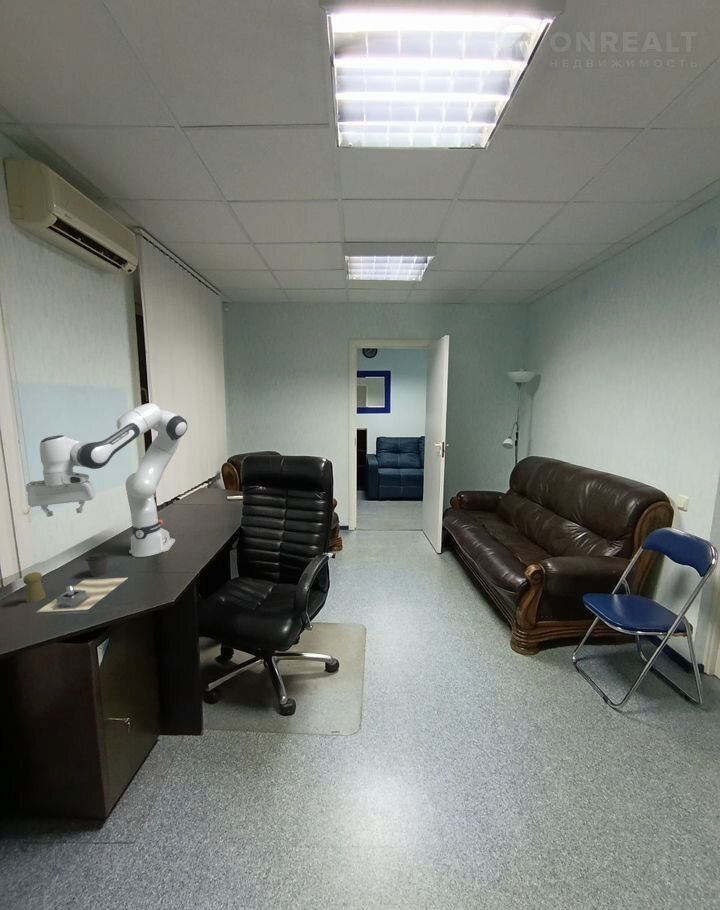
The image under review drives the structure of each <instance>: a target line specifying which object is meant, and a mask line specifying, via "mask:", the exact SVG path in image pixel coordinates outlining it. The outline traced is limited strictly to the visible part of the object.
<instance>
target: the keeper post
mask: <svg viewBox="0 0 720 910" xmlns="http://www.w3.org/2000/svg"><path fill="white" fill-rule="evenodd" d="M65 588H66V589H65V590H66V592H67V595H68V597H72V596H74V595H75V593H74V585H73V584H71V585H68V586H66V587H65ZM86 597H87V598H86V599H85V600H83V601H81V602H79V603H78V604H76V605H74V606H73V607H64V606H56V607H54V608H53V610H60V609H76V608H77V607H79V606H80V605H81V604H83V603H84V602H85V601H87V600H88V599H89V598H90V597H91V596H86Z"/></svg>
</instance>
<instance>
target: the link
mask: <svg viewBox="0 0 720 910" xmlns="http://www.w3.org/2000/svg"><path fill="white" fill-rule="evenodd" d="M64 593H65V592H64ZM64 593H62V594H63V595H62V594H61V595H59V596H57V597H56V598H55V599H56V600H57V606H64V607H73V606H74V605H76V604H78V603H79V602H81V601H83V600H85V599H86V598H87V597H86V591H83V590H74V593H75V595H74V596H72V597H68V595H67V593H65V594H64Z"/></svg>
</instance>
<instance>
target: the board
mask: <svg viewBox="0 0 720 910" xmlns="http://www.w3.org/2000/svg"><path fill="white" fill-rule="evenodd" d="M126 580H128V577H115V578H114V577H113V578H112V577H111V578H97V579H95V578H94V579H93V578H92V579H91V578H90V579H83V580H81V581H80V582H78V583H77V584H76V585H73V587H74V590H83V591H86V596H91V597H90V598H89V599H88V600H87V601H85V602H84V603H83V604H81V605H80V606H79V607H77V608H76V609H60V610H53V608H54V607H56V606H57V600H56V598H55V599H53V600H52V601H51V602H49V603H47V604H46V605H44V606H43V607H41V608H39V609H38V610H37V611H36V613H35V616H48V615H49V616H51V615H52V616H53V615H66V614H69V615H71V614H86V613H87V614H88V613H90V612H91V610H89V609H91V608H92V607H94V606H95V605H96V604H97V603H99V601H101V600H102V599H104V598H105V597H106V596H108V595H109V593H111V592H112V591H114V590H115V589H116V588H117V587H119V586H120V585H121V584H122V583H124V582H125V581H126ZM65 593H67V591H65V592H64V593H62V594H61V595H63V594H65Z"/></svg>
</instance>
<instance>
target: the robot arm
mask: <svg viewBox="0 0 720 910" xmlns="http://www.w3.org/2000/svg"><path fill="white" fill-rule="evenodd" d="M116 428H117V430H116V431H115V432H114V433H111V434H110V435H109V436H107V437H105V438H104V439H103V440H100V441H94V442H88V441H87V442H83V441H80V440H75V439H72V438H69V437H68V436H66V435H63V434H58V435H53V436H47V437H45V438H43V439H42V440H41V441H40V444H39V456H40V457H39V458H40V462H41V464H42V466H43V469H42V475H43V480H37V481H36V480H35V481H33V480H32V481H29V482H28V483H27V484H26V486H25V489H26V492H27V505H28V506H30V507H31V508H34V507H41V510H42V511H43V512H44V513H45V514H46V518H49V517H53V516H54V511H53V510H49V508H48V507H49V506H50V505H58V504H70V503H77V502H78V504H79V507H77V508H76V509H75V511H76V514H82V513H83V511H84V510H83V507H84V506H85V503H86V501H92V500H94V498H95V496H96V494H95V490H94V486H93V484H92V482H91V481H90V476H89V474H87V473H80V472H74V467H82V468H87V469H91V470H97V469H101V468H103V467H105V466H106V465H107V464H108V463H109V462H110V461H111V459H112V457H113V456H114V455H115V454H117V452H119V451H121V450H122V449H123V448H124V447H126V446H128V444H130V443H131V442H132V441H134V440H135V439H136V438H138V437H139V436H142V435H144V434H145V433H146V432H148V431H149V430H151V429H152V431H153V430H154V431H155V432H157V436H156V437H155V438H154V439H153V441H152V442H151V444H150V445H149V447H148V448H147V450H146V452H145V454H144V455H143V456H142V458H141V461H140V463H139V466H138V468H137V469H136V472H135V473H132V474H130V475H128V477H127V478H126V480H125V491H126V495H127V496H126V497H127V501H128V506H129V511H130V519H131V534H132V535H131V536H130V549H129V551H128V552H129V554H131V556H133V557H136V558H143V557H150V556H154V555H157V554H160V553H165V552H167V551H169V550H171V549H170V548H172V546H173V545H174V544H175V542H176V539H175V538H171V537H170V532H169V531H168V530H167V529H164V528H162V526H161V525H162V524H164V521H163V519H158V518H159V517H158V509H157V504H156V500H155V496H154V495H155V493H156V490H157V488H158V485H159V484H160V482H161V479H162V477H163V475H164V472H165V470H166V469H167V467H168V465H169V463H170V461H171V460H172V457H173V456H174V454H175V453H176V451H177V448H178V447H179V444H180V441H181V437H183V436H184V435H185V434H186V432H187V430H188V422H187V420H186V419H185V418H184V417H183V416H181V415H178V414H176V413H175V412H173V411H170V410H166V409H163V408H161V407H159V406H158V405H157V404H155V403H152V402H148V403H145V404H141V405H139V406H136V407H134V408H132V409H130V410H129V411H127V412H125V413H124V414H122V415H121V416H120V417H119V418H117V420H116Z"/></svg>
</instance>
